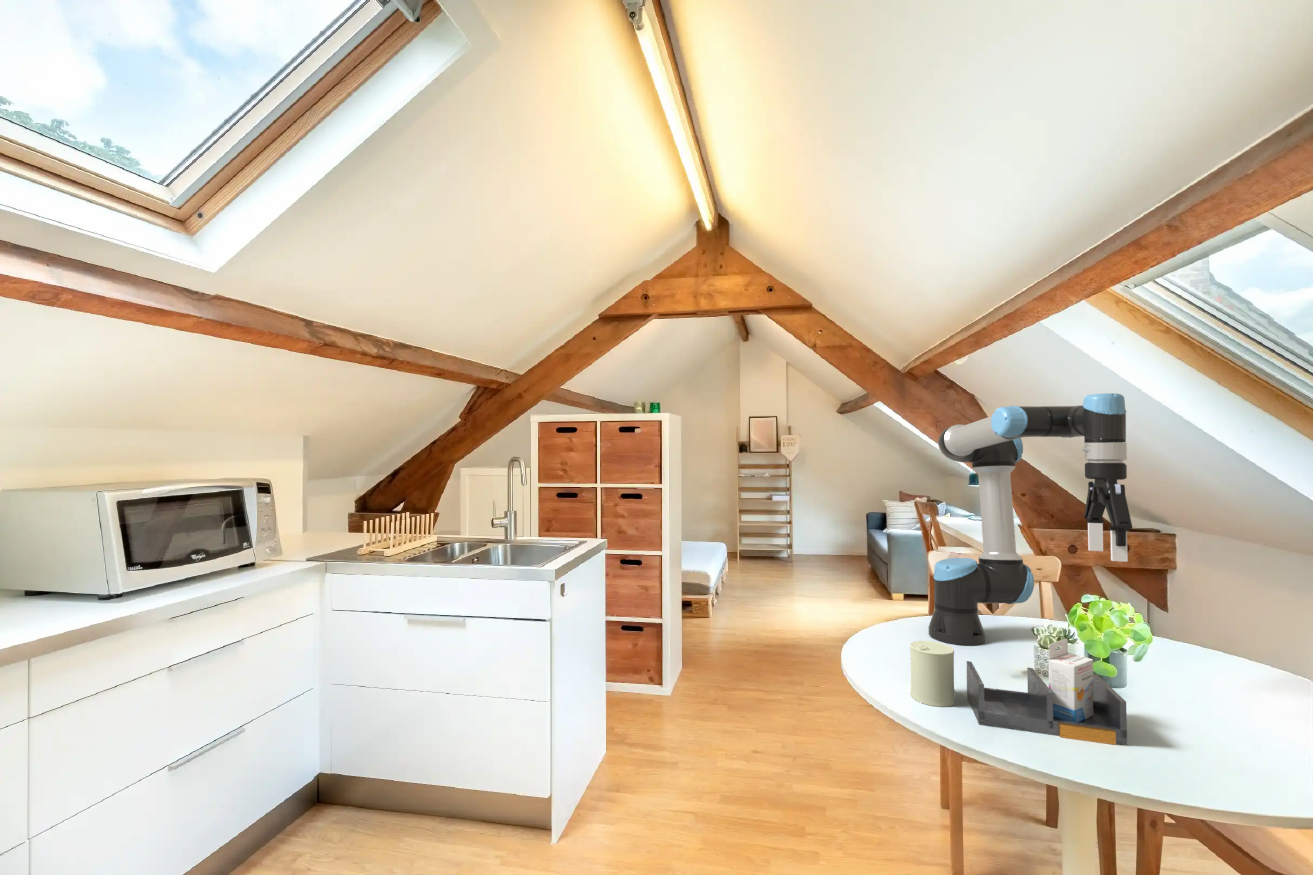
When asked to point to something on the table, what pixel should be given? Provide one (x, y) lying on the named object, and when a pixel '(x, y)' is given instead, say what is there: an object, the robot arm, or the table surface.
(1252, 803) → the table surface
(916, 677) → the can
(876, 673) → the table surface
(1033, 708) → the rack
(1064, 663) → the ink box
